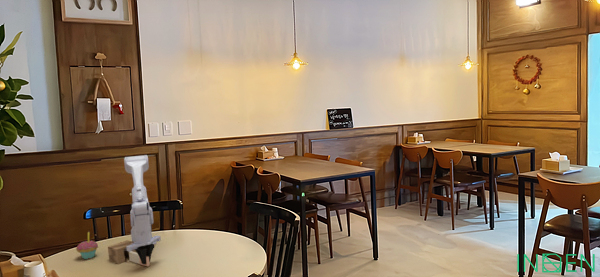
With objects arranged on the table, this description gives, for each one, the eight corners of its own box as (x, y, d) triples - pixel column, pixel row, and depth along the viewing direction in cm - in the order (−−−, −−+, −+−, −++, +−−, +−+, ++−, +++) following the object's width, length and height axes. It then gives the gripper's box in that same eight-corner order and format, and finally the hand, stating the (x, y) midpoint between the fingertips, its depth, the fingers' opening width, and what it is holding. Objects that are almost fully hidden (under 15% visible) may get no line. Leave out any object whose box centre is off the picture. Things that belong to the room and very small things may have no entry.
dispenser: (109, 260, 189) (107, 246, 188) (128, 253, 196) (127, 240, 195) (119, 264, 184) (117, 249, 183) (138, 256, 191) (137, 243, 191)
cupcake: (103, 254, 196) (100, 228, 195) (87, 262, 189) (84, 234, 187) (89, 252, 200) (86, 226, 198) (73, 259, 192) (70, 232, 191)
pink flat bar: (129, 260, 186) (128, 252, 186) (132, 259, 187) (131, 251, 187) (147, 266, 179) (146, 257, 179) (149, 265, 180) (148, 256, 179)
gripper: (132, 237, 170) (135, 271, 172) (164, 226, 182) (166, 258, 184) (122, 234, 175) (125, 267, 176) (153, 224, 186) (156, 255, 188)
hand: (145, 262), depth 180 cm, fingers closed on pink flat bar
